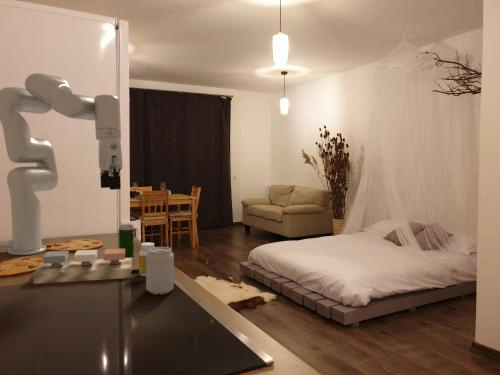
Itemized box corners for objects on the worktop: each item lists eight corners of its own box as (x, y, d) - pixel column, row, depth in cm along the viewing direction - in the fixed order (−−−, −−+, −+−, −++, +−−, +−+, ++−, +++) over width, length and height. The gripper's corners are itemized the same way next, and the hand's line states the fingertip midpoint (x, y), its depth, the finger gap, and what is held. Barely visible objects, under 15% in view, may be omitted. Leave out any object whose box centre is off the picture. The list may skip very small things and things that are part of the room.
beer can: (121, 261, 138) (120, 227, 137) (116, 257, 143) (116, 225, 142) (136, 259, 141) (136, 226, 140) (131, 255, 146) (131, 223, 145)
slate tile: (43, 269, 117) (42, 256, 117) (47, 263, 123) (47, 251, 123) (65, 267, 119) (64, 255, 119) (68, 262, 125) (68, 250, 124)
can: (160, 297, 106) (160, 253, 105) (140, 291, 110) (140, 249, 109) (179, 289, 112) (179, 248, 111) (159, 284, 116) (160, 244, 115)
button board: (33, 283, 114) (33, 273, 114) (43, 271, 126) (42, 261, 125) (131, 277, 121) (131, 268, 121) (131, 266, 133) (131, 257, 133)
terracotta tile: (104, 265, 122) (104, 254, 122) (105, 260, 128) (105, 249, 127) (124, 264, 123) (124, 253, 123) (125, 259, 129) (125, 248, 129)
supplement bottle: (141, 277, 122) (140, 246, 121) (137, 272, 127) (137, 242, 126) (158, 275, 125) (158, 244, 124) (154, 270, 129) (154, 241, 128)
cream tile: (74, 267, 120) (74, 255, 119) (77, 261, 125) (77, 250, 125) (95, 266, 121) (95, 254, 121) (97, 260, 127) (97, 249, 127)
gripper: (129, 133, 121) (131, 189, 123) (111, 136, 135) (113, 186, 137) (104, 133, 117) (106, 190, 118) (88, 136, 131) (91, 187, 132)
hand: (110, 188), depth 127 cm, fingers open, 9 cm apart
